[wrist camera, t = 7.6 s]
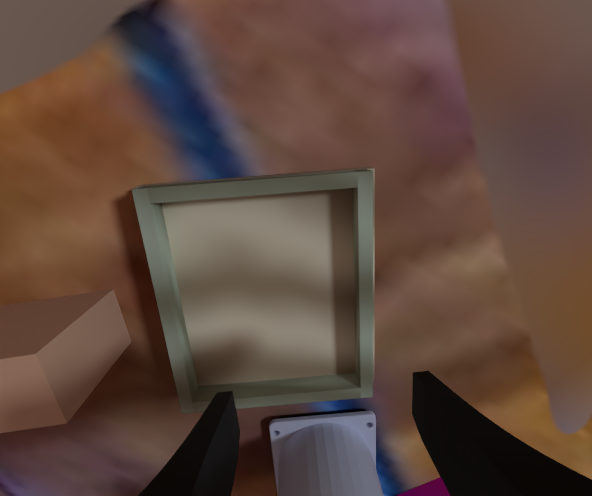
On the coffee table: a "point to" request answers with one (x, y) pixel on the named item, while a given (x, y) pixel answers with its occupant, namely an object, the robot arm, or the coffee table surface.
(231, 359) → the shallow square tray
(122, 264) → the coffee table surface
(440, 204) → the coffee table surface
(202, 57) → the coffee table surface
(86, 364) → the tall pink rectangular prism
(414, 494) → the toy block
